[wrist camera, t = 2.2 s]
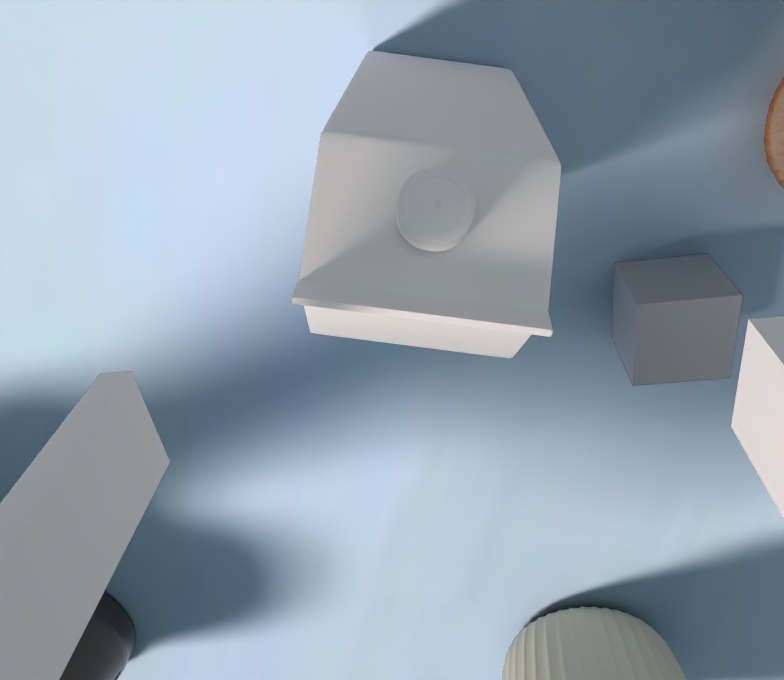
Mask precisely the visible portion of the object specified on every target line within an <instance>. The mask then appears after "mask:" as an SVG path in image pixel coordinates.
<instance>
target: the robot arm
mask: <svg viewBox="0 0 784 680" xmlns="http://www.w3.org/2000/svg"><path fill="white" fill-rule="evenodd" d="M731 427H732V429H733V431H734V432H735V434H736V436H737V438H738V439H739V441H740V443H741V445H742V446H743V448H744V450H745V452H746V453H747V455H748V457H749V459H750V460H751V462H752V464H753V466H754V467H755V469H756V471H757V473H758V474H759V476H760V478H761V480H762V481H763V483H764V485H765V487H766V488H767V490H768V492H769V494H770V495H771V497H772V499H773V501H774V502H775V504H776V506H777V508H778V510H779V511H780V513H781V515H782V517H783V518H784V316H779V317H767V318H755V319H748V325H747V331H746V337H745V343H744V349H743V356H742V362H741V368H740V374H739V380H738V386H737V392H736V398H735V405H734V411H733V417H732V423H731ZM169 464H170V460H169V458H168V456H167V453H166V451H165V449H164V446H163V444H162V442H161V439H160V437H159V435H158V432H157V430H156V428H155V425H154V423H153V421H152V418H151V416H150V414H149V411H148V409H147V407H146V404H145V402H144V400H143V397H142V395H141V393H140V390H139V388H138V386H137V383H136V381H135V378H134V376H133V374H132V371H125V372H113V373H101V374H99V375H98V377H97V378H96V379H95V380H94V382H93V383H92V384H91V386H90V387H89V388H88V390H87V391H86V392H85V393H84V395H83V396H82V397H81V399H80V400H79V401H78V403H77V404H76V405H75V407H74V408H73V409H72V410H71V412H70V413H69V414H68V416H67V417H66V418H65V420H64V421H63V422H62V423H61V425H60V426H59V427H58V429H57V430H56V431H55V433H54V434H53V435H52V437H51V438H50V439H49V440H48V442H47V443H46V444H45V446H44V447H43V448H42V450H41V451H40V452H39V453H38V455H37V456H36V457H35V459H34V460H33V461H32V463H31V464H30V465H29V466H28V468H27V469H26V470H25V472H24V473H23V474H22V476H21V477H20V478H19V480H18V481H17V482H16V483H15V485H14V486H13V487H12V489H11V490H10V491H9V493H8V494H7V495H6V496H5V498H4V499H3V500H2V502H1V503H0V680H117V679H118V678H119V676H120V675H121V673H122V672H123V670H124V668H125V666H126V664H127V661H128V659H129V657H130V654H131V652H132V650H133V647H134V644H135V631H134V627H133V625H132V622H131V620H130V619H129V617H128V615H127V614H126V613H125V611H124V610H123V609H122V608H121V607H120V605H119V604H118V603H117V602H115V601H114V600H113V599H112V598H111V597H110V596H108V595H107V594H106V593H104V591H105V589H106V587H107V585H108V583H109V581H110V579H111V577H112V575H113V573H114V571H115V569H116V568H117V566H118V564H119V562H120V560H121V558H122V556H123V554H124V552H125V550H126V548H127V546H128V544H129V542H130V540H131V538H132V536H133V534H134V532H135V530H136V528H137V526H138V524H139V522H140V520H141V518H142V517H143V515H144V513H145V511H146V509H147V507H148V505H149V503H150V501H151V499H152V497H153V495H154V493H155V491H156V489H157V487H158V485H159V483H160V481H161V479H162V477H163V475H164V473H165V471H166V469H167V467H168V466H169Z"/></svg>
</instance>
